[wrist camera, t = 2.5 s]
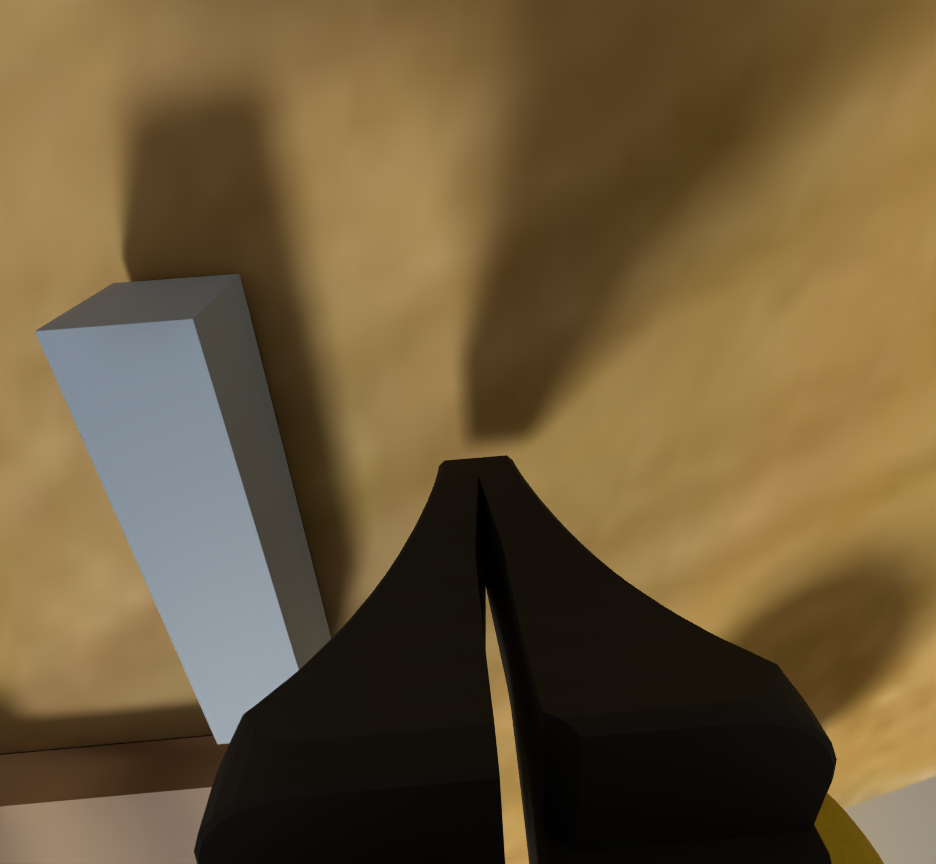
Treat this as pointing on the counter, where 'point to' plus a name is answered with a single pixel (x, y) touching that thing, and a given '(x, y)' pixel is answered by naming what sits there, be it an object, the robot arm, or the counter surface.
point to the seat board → (107, 802)
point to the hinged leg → (196, 479)
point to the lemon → (843, 836)
